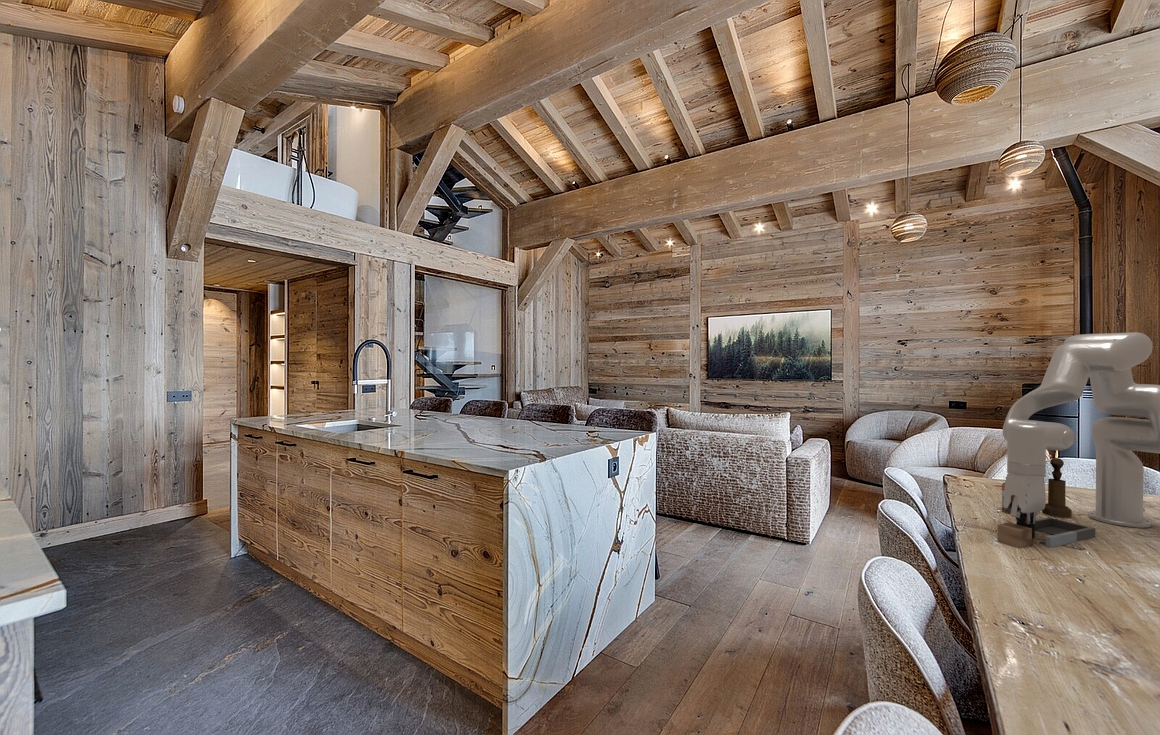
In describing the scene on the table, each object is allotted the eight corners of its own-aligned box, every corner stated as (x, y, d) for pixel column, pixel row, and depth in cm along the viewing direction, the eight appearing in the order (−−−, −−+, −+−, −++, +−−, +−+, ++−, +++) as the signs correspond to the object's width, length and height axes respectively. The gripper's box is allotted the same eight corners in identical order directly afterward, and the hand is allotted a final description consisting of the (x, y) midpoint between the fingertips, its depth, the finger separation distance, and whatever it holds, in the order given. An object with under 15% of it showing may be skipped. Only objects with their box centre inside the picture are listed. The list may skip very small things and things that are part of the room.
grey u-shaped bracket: (1048, 525, 138) (1048, 517, 138) (1095, 537, 129) (1095, 528, 129) (1004, 534, 131) (1004, 525, 131) (1050, 547, 122) (1050, 537, 122)
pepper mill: (1063, 512, 150) (1063, 457, 150) (1077, 519, 144) (1077, 461, 144) (1037, 510, 152) (1037, 455, 152) (1049, 516, 146) (1050, 459, 146)
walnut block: (1008, 538, 128) (1009, 522, 128) (1031, 545, 123) (1031, 528, 123) (997, 541, 126) (997, 524, 126) (1020, 548, 121) (1020, 530, 121)
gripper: (1025, 464, 132) (1025, 528, 132) (992, 468, 127) (991, 535, 127) (1060, 470, 125) (1059, 538, 125) (1026, 474, 120) (1025, 545, 120)
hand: (1025, 536), depth 126 cm, fingers closed
